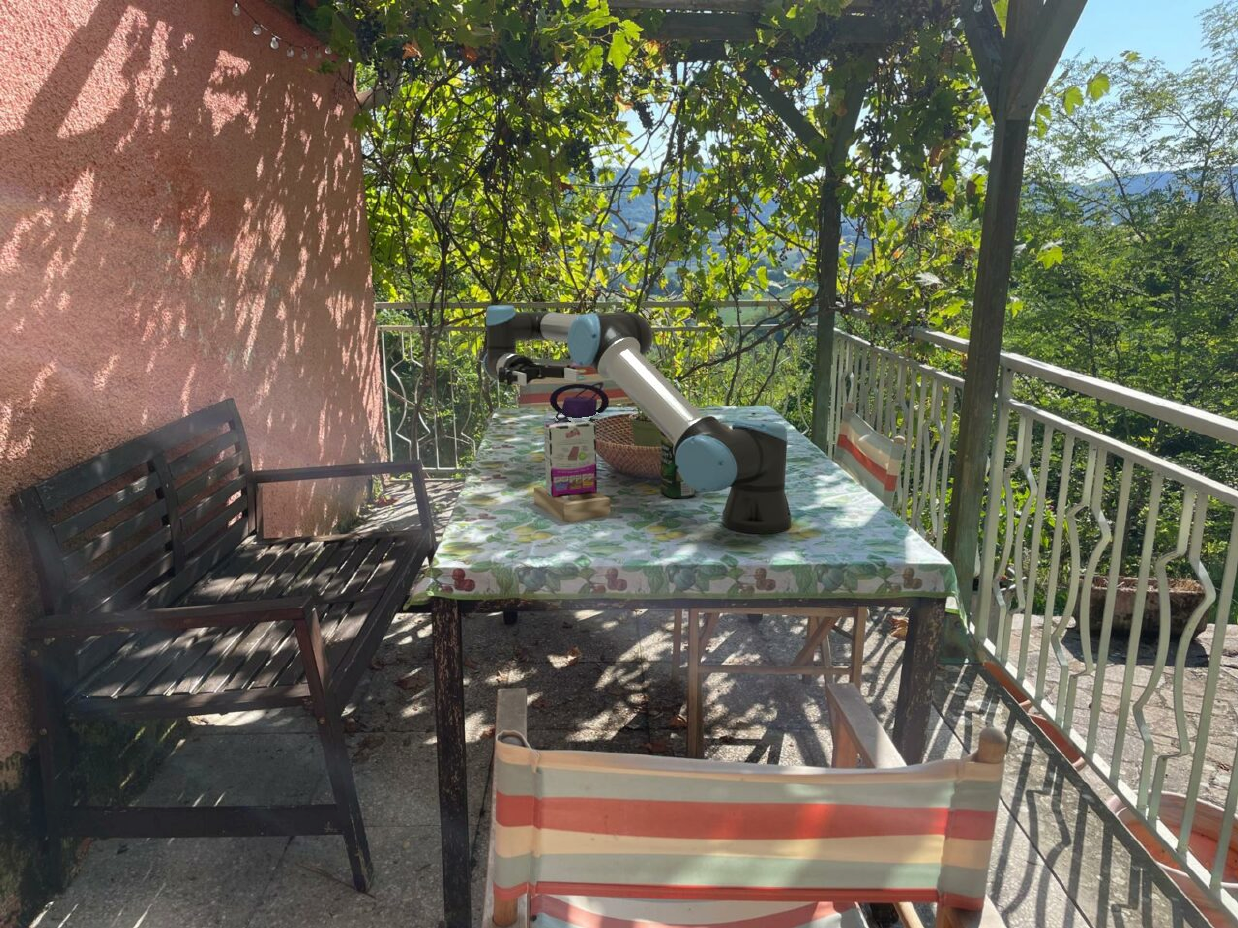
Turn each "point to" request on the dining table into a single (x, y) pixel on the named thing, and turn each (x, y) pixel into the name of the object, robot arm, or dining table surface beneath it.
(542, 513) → the mat
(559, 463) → the candy bar box
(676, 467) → the coffee jar
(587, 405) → the purple handbag
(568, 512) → the frame
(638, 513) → the dining table surface
